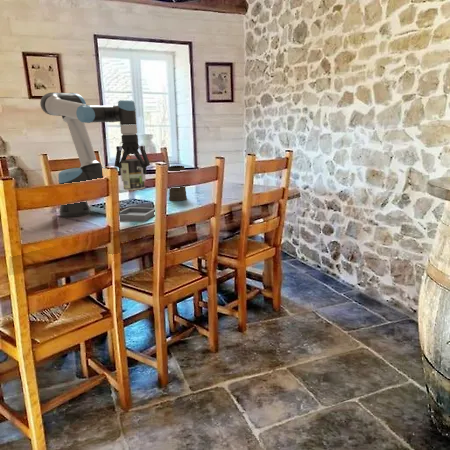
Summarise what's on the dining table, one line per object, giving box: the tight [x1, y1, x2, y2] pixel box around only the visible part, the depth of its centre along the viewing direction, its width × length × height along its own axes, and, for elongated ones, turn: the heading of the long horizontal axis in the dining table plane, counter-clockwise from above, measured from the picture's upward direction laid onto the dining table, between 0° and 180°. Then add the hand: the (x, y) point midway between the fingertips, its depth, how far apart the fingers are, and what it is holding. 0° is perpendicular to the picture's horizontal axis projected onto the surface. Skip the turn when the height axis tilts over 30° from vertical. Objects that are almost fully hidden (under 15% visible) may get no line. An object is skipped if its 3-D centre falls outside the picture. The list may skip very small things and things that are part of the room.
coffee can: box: [120, 158, 146, 191], centre depth 190 cm, size 10×10×14 cm
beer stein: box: [167, 165, 188, 202], centre depth 236 cm, size 15×11×20 cm
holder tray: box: [119, 207, 156, 222], centre depth 195 cm, size 16×16×3 cm
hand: (133, 180), depth 191 cm, fingers closed on coffee can, 10 cm apart
